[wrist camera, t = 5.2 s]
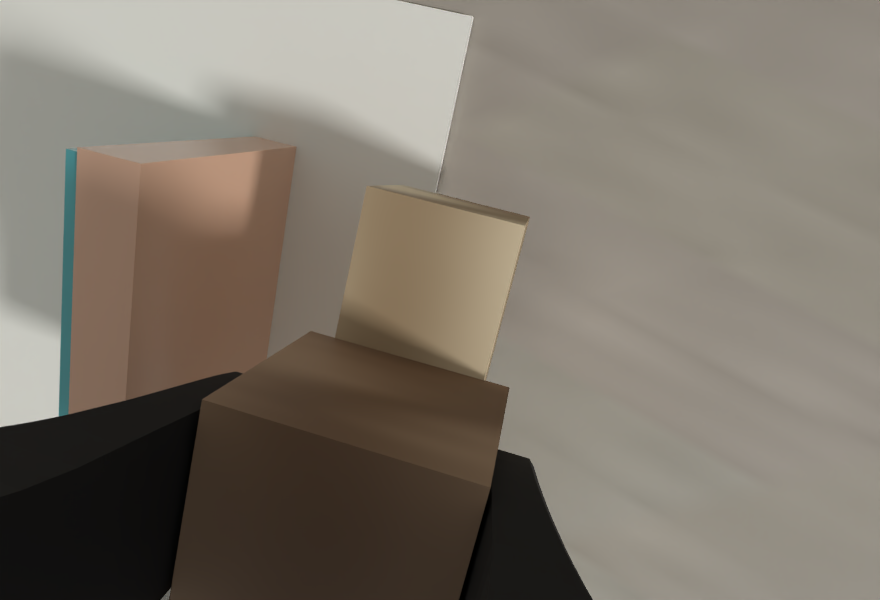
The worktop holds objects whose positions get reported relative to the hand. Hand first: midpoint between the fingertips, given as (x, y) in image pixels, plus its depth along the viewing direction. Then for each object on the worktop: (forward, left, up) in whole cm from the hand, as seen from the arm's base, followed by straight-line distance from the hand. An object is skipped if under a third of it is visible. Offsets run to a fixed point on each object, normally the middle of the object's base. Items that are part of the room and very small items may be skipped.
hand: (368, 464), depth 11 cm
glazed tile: (+6, 0, -7) cm, 9 cm away
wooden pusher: (0, +1, -5) cm, 5 cm away
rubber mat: (+7, 0, -7) cm, 10 cm away
